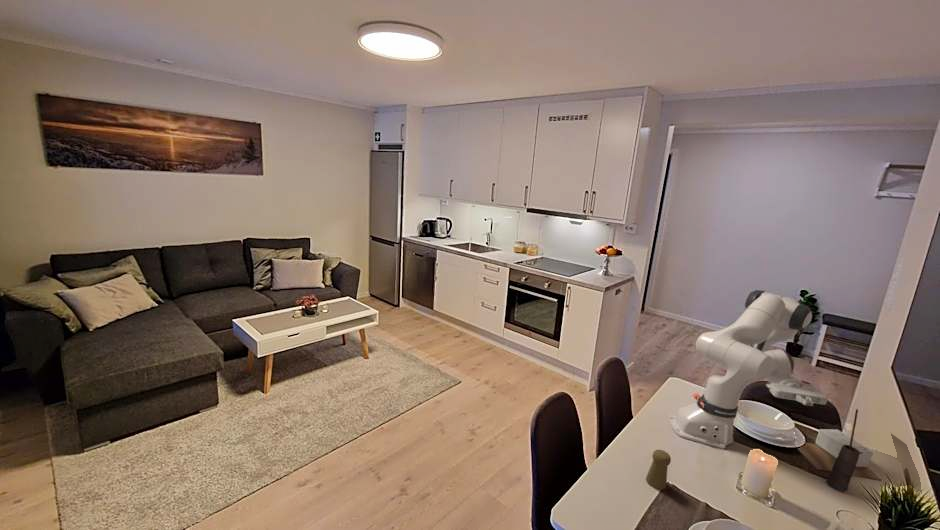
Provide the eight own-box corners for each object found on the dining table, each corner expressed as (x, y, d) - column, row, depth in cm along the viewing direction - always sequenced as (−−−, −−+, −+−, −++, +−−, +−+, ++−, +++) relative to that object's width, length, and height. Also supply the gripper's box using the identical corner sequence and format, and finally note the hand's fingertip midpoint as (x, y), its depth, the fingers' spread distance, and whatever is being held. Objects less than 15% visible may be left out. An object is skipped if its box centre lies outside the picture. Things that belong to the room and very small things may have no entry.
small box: (814, 442, 154) (848, 467, 142) (819, 428, 153) (853, 451, 140) (833, 443, 155) (868, 467, 143) (837, 429, 154) (874, 452, 141)
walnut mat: (816, 469, 140) (817, 468, 140) (790, 441, 155) (790, 440, 155) (880, 480, 137) (881, 479, 137) (847, 450, 152) (847, 449, 152)
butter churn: (867, 498, 128) (896, 423, 122) (843, 500, 127) (871, 424, 120) (838, 477, 137) (863, 405, 130) (815, 478, 136) (839, 406, 129)
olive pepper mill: (667, 492, 124) (674, 462, 121) (646, 485, 126) (653, 456, 123) (665, 479, 130) (672, 450, 127) (645, 472, 131) (651, 444, 129)
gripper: (765, 376, 178) (783, 393, 165) (816, 383, 175) (838, 401, 162) (761, 389, 179) (779, 406, 166) (812, 396, 176) (834, 414, 163)
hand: (809, 404), depth 164 cm, fingers closed
